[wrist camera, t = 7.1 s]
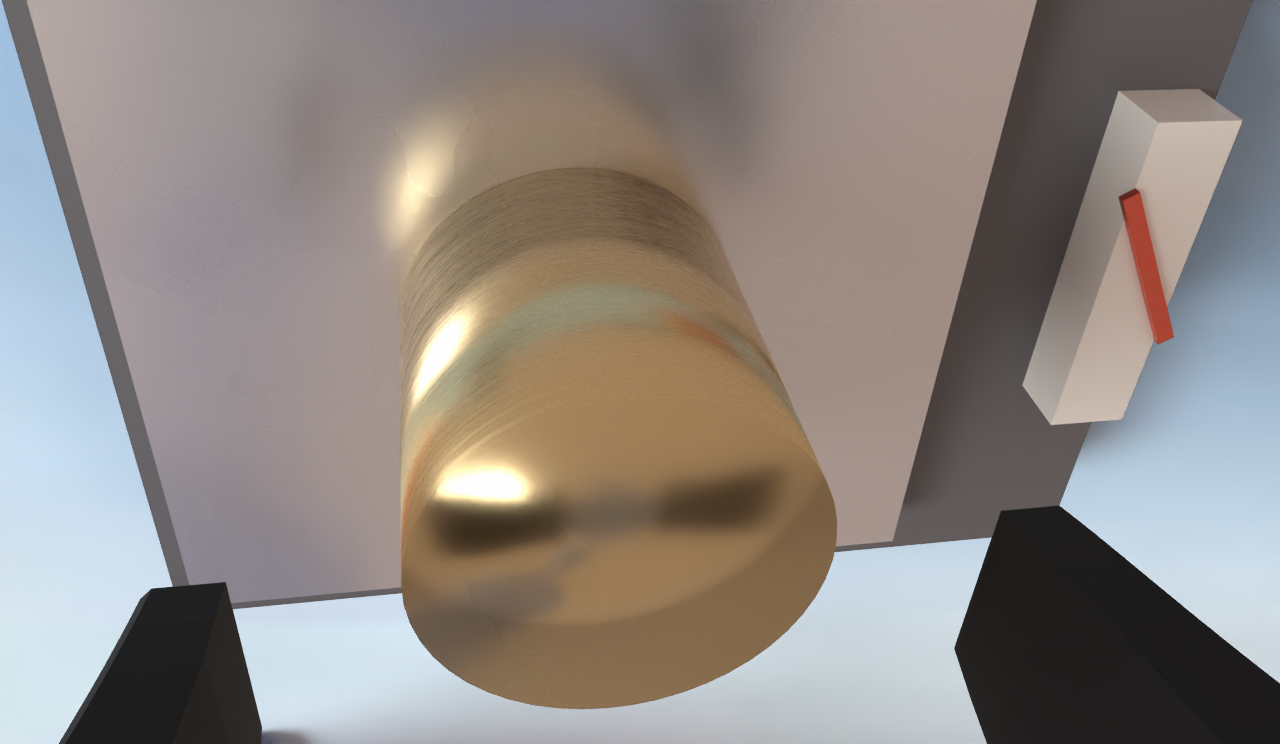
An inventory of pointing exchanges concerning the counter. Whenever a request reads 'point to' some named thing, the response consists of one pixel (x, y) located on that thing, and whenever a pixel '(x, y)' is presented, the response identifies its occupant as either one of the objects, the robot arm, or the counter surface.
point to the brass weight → (596, 449)
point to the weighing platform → (475, 161)
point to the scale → (997, 263)
